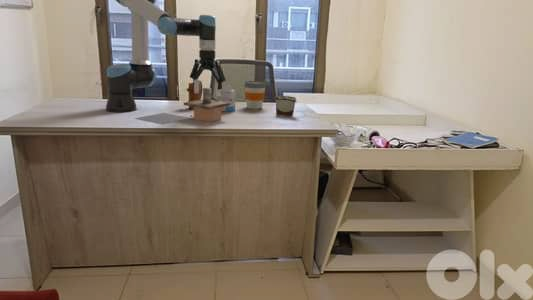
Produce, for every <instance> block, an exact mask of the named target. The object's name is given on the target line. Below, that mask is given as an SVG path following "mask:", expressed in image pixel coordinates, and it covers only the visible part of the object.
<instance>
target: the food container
mask: <svg viewBox="0 0 533 300" xmlns="http://www.w3.org/2000/svg"><path fill="white" fill-rule="evenodd" d="M274 101H275V111H276V112H275V115H276V116H281V115H283V117H288V116H293V117H294V112H295V105H296V103H297V97H296V96H295V97H294V96H290V95H276V96H275V97H274Z"/></svg>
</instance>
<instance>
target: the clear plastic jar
mask: <svg viewBox="0 0 533 300" xmlns="http://www.w3.org/2000/svg"><path fill="white" fill-rule="evenodd" d="M232 86H233V85H232V84H223V83H222V89H221V96H217V99H218V100H217V101H221V102H227V103H230V105H229V106H224V107H221V112H222V111H223V112H228V113H229V112H230V113H231V112H235V111H236V89H232Z"/></svg>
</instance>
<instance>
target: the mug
mask: <svg viewBox="0 0 533 300" xmlns="http://www.w3.org/2000/svg"><path fill="white" fill-rule="evenodd" d="M203 88H204V87H203V83H202V80H199V93H194V85H193V82H189V83H188V87H187V88H186V92H188V101H187V102H190V101H196V100H202V98H203ZM188 108H189V109H191V110H194V107H192V106H188Z"/></svg>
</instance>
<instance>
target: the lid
mask: <svg viewBox="0 0 533 300" xmlns="http://www.w3.org/2000/svg"><path fill="white" fill-rule="evenodd" d="M202 88H203V89H202V99H201V100H196V101H190V102H188V101H186V102H183V106H188V107H189V106H192V107H198V108H203V109H214V108H219V107H224V106H229V105H230V103H227V102H221V101H218V100H215V99H212V88H211V87H202Z"/></svg>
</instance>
